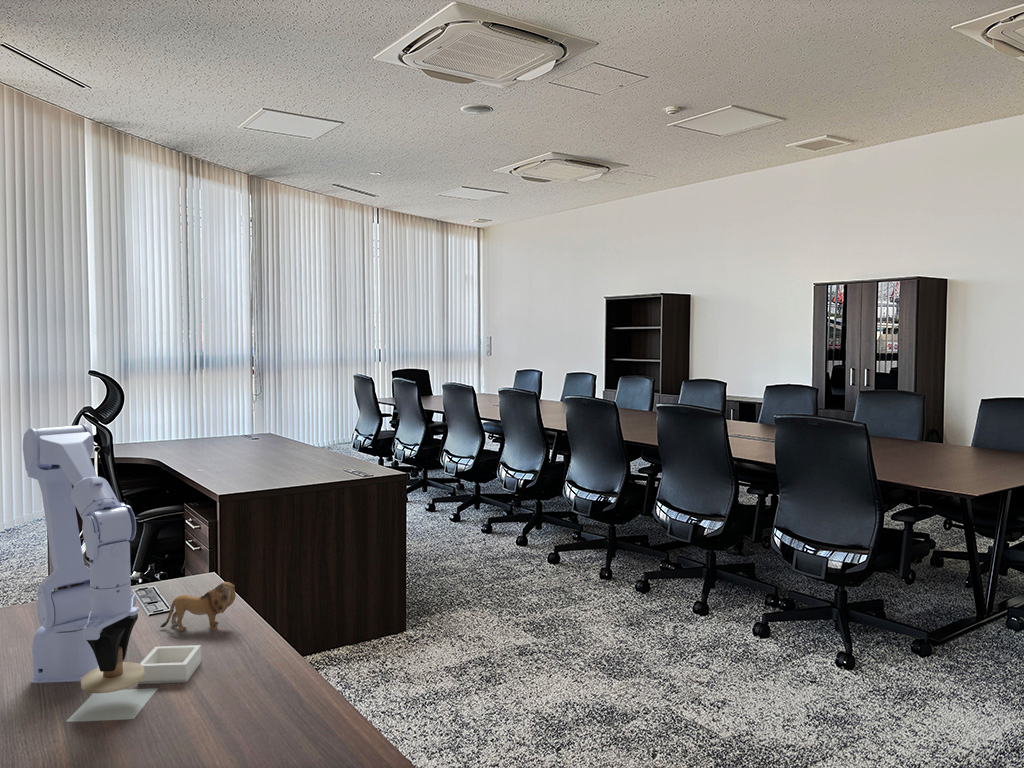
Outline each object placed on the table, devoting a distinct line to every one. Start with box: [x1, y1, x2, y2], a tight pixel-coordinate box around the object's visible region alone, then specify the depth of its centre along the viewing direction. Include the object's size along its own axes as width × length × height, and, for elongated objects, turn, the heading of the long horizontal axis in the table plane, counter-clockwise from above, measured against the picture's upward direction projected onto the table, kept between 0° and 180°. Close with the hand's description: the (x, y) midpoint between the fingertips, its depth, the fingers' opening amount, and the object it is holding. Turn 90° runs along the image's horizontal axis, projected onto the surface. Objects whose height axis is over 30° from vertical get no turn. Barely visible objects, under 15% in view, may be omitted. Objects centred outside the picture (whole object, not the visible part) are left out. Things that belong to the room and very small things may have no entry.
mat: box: [65, 688, 159, 723], centre depth 119 cm, size 10×10×1 cm
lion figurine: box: [159, 581, 237, 632], centre depth 151 cm, size 15×5×9 cm, turn 103°
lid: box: [80, 646, 144, 694], centre depth 118 cm, size 9×9×5 cm
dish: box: [137, 644, 202, 685], centre depth 130 cm, size 8×8×4 cm
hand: (112, 665), depth 118 cm, fingers closed on lid, 3 cm apart
